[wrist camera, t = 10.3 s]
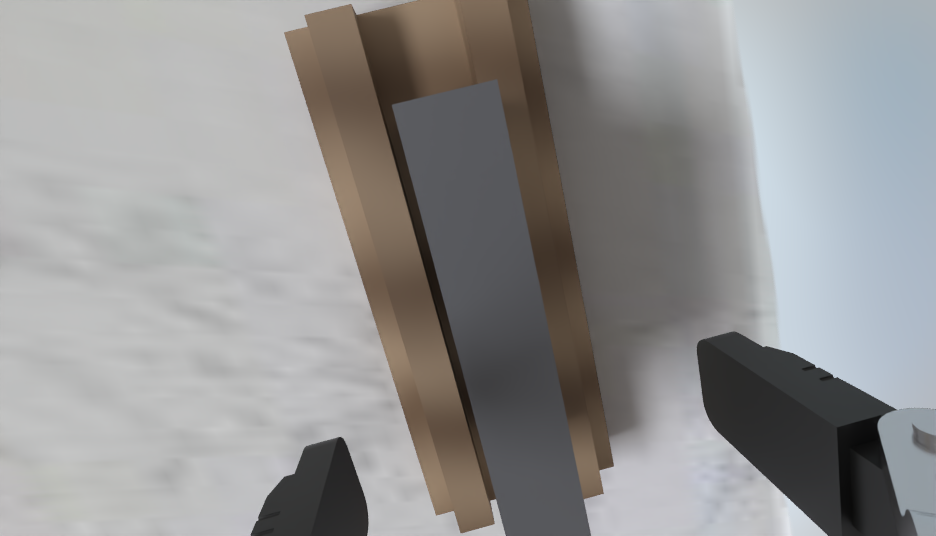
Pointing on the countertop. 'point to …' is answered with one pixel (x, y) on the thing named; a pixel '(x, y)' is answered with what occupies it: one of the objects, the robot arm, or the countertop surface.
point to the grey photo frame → (494, 303)
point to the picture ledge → (401, 227)
